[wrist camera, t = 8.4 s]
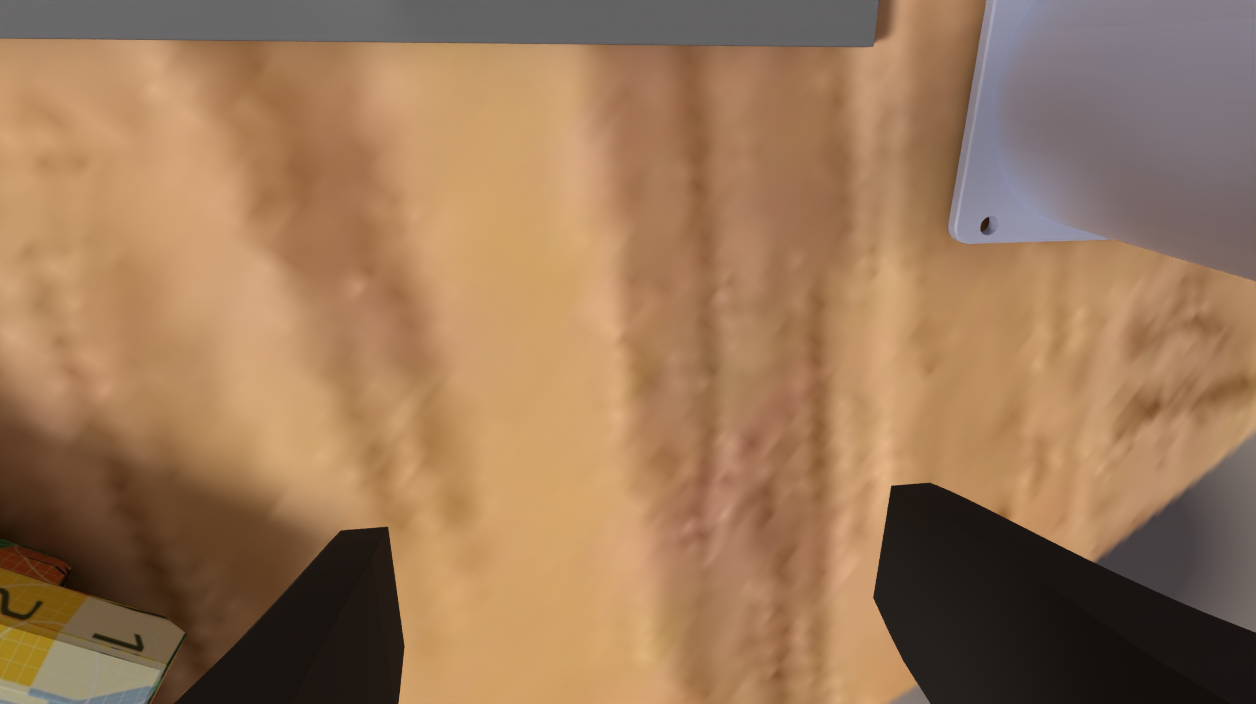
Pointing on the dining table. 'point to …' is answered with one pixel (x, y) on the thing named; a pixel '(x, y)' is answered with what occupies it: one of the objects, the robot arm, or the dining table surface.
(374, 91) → the dining table surface
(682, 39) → the mat
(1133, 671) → the robot arm
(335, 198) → the dining table surface
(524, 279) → the dining table surface
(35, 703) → the puzzle game
